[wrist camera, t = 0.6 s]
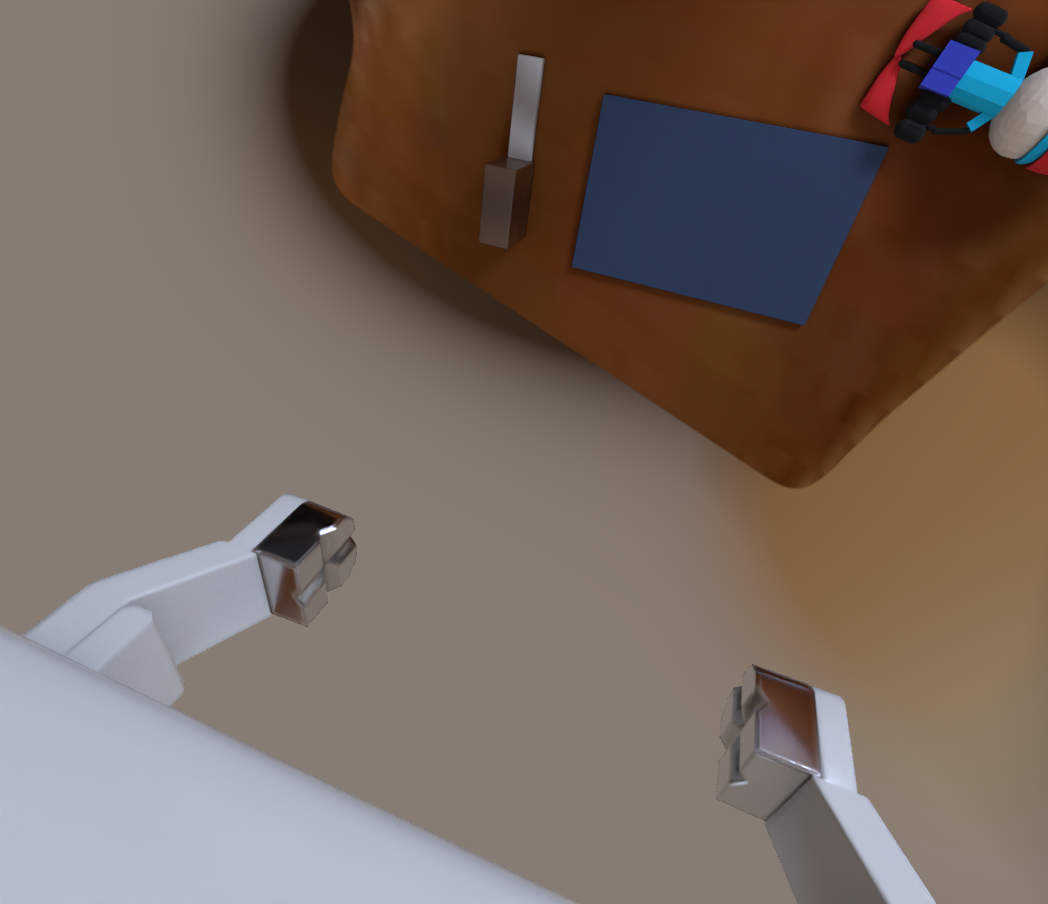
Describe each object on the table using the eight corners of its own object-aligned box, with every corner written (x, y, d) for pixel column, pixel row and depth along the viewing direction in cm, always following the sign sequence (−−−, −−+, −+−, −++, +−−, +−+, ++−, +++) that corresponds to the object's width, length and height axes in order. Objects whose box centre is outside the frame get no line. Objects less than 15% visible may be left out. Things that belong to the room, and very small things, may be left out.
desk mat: (604, 93, 41) (603, 94, 41) (888, 146, 37) (889, 147, 37) (572, 265, 49) (571, 267, 49) (804, 323, 45) (804, 325, 45)
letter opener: (525, 236, 49) (507, 249, 46) (498, 230, 50) (478, 242, 46) (548, 59, 41) (528, 58, 38) (516, 53, 42) (493, 51, 38)
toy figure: (851, 120, 38) (1068, 218, 35) (852, 113, 35) (1098, 222, 32) (934, -13, 34) (1191, 86, 31) (947, -38, 30) (1242, 72, 27)
